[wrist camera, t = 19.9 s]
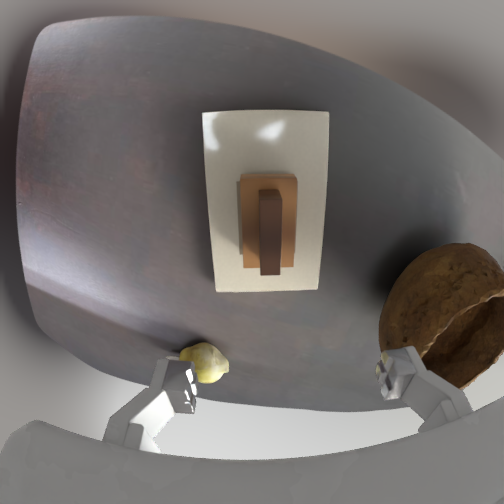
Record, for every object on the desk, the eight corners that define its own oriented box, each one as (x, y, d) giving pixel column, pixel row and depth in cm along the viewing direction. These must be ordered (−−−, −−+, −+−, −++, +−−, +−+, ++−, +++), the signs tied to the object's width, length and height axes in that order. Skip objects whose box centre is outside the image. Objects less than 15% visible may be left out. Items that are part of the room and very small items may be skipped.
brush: (240, 172, 27) (238, 187, 21) (292, 171, 27) (303, 186, 21) (243, 255, 31) (242, 285, 26) (290, 254, 31) (297, 284, 26)
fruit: (160, 337, 39) (223, 335, 37) (179, 354, 43) (237, 353, 41) (152, 373, 35) (218, 375, 33) (173, 387, 39) (234, 389, 37)
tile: (204, 112, 25) (201, 112, 24) (325, 111, 25) (329, 111, 24) (217, 285, 34) (216, 292, 33) (315, 282, 34) (317, 290, 33)
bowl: (411, 344, 41) (444, 412, 27) (334, 306, 36) (365, 398, 23) (483, 260, 33) (539, 317, 20) (423, 192, 29) (507, 249, 15)
